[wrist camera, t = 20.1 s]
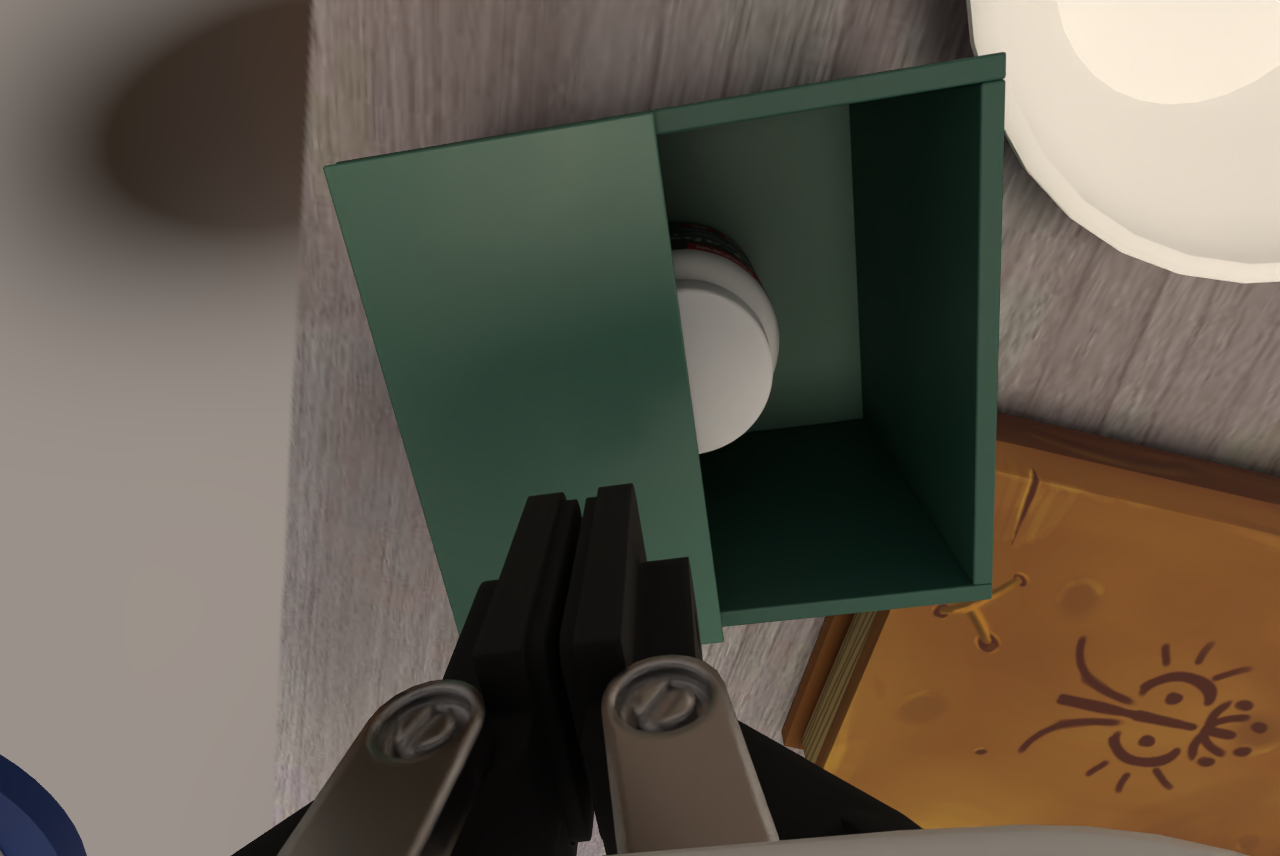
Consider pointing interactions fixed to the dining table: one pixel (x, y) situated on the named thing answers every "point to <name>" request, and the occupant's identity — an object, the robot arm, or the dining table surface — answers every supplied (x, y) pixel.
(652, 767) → the robot arm
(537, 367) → the flap
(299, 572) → the dining table surface
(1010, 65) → the bowl
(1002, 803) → the diary
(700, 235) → the pill bottle
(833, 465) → the green square bin
